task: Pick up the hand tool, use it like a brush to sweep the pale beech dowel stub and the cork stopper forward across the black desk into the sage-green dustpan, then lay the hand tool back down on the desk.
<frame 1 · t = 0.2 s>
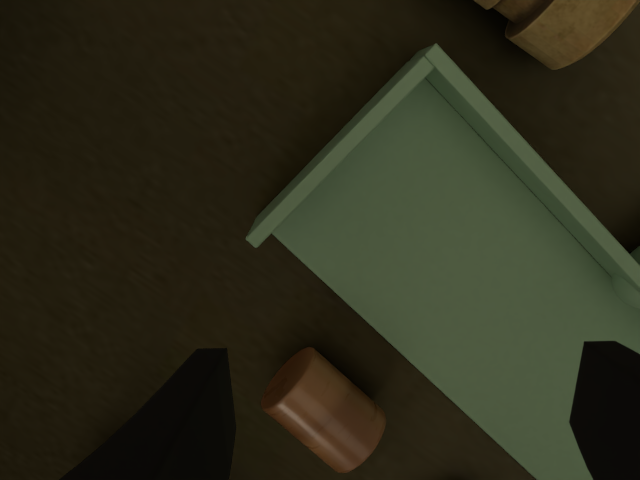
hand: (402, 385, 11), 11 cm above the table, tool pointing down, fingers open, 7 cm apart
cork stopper: (322, 390, 23), on the table
dustpan: (530, 341, 23), on the table
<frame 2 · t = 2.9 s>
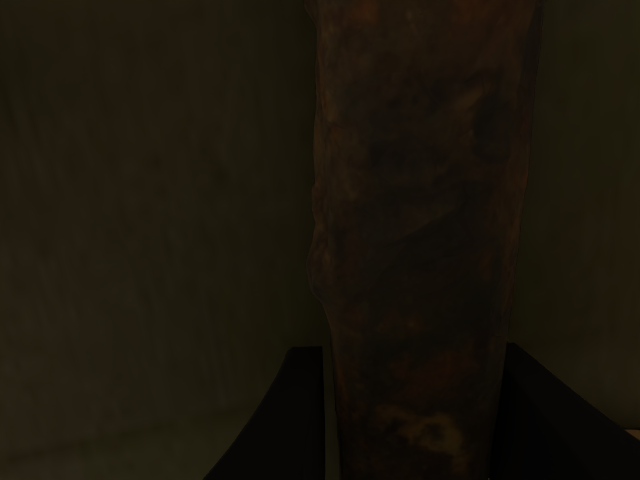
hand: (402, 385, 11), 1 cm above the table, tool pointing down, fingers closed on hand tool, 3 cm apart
hand tool: (418, 342, 13), on the table, touching gripper
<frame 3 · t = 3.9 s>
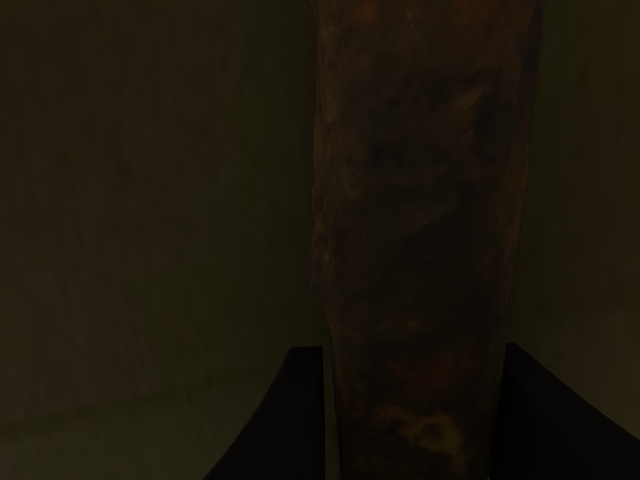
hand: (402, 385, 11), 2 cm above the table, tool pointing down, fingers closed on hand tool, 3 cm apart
hand tool: (417, 342, 13), on the table, touching gripper
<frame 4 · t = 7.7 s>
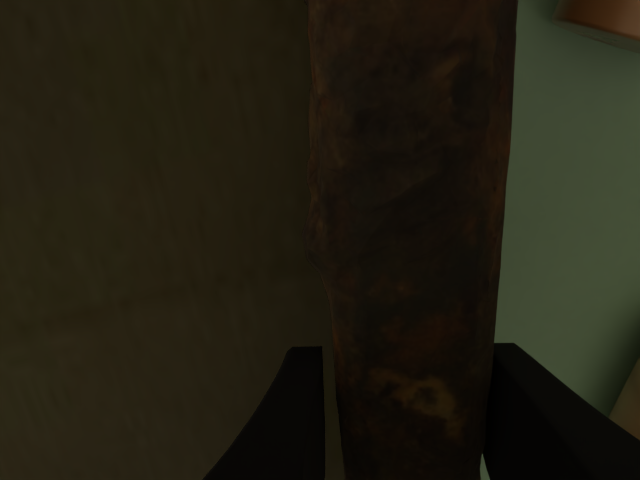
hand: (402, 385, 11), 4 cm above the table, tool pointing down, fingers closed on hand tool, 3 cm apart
hand tool: (421, 321, 13), point 2 cm above the table, touching gripper
dustpan: (595, 289, 15), on the table
when the fingers open (2 cm above the table, at t = 11.0 s): hand tool stays where it is, on the table.
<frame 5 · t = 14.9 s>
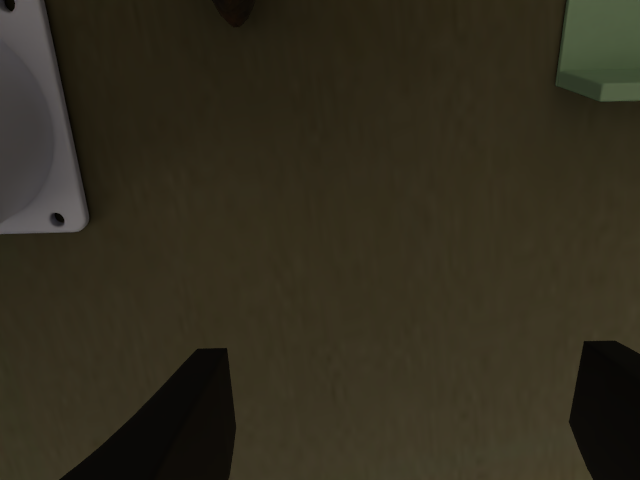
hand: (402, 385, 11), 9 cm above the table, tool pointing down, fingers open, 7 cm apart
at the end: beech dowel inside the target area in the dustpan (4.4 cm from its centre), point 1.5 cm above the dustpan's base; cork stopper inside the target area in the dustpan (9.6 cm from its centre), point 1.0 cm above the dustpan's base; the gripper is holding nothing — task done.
